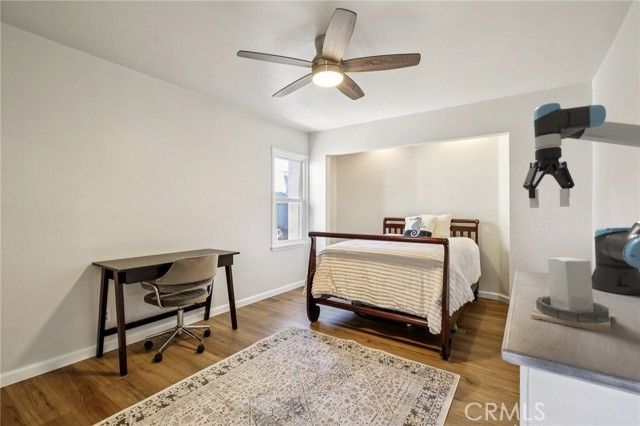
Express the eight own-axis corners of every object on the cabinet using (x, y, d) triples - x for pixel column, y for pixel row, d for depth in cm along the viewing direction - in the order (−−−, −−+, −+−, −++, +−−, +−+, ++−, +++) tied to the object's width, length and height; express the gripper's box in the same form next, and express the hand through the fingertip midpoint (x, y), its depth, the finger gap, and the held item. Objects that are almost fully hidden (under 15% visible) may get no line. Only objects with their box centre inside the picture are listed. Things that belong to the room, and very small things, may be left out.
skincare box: (594, 318, 78) (593, 261, 78) (567, 317, 79) (566, 261, 79) (572, 308, 87) (571, 256, 87) (548, 307, 88) (546, 256, 88)
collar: (541, 304, 94) (540, 293, 94) (610, 316, 83) (610, 303, 83) (531, 318, 83) (531, 305, 83) (610, 333, 72) (609, 318, 72)
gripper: (564, 151, 111) (566, 206, 111) (510, 150, 105) (512, 208, 105) (586, 146, 103) (588, 205, 103) (529, 145, 98) (531, 207, 98)
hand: (549, 207), depth 104 cm, fingers open, 13 cm apart
